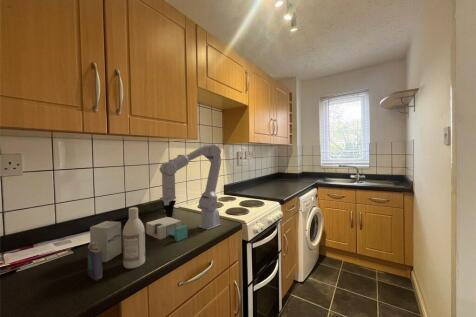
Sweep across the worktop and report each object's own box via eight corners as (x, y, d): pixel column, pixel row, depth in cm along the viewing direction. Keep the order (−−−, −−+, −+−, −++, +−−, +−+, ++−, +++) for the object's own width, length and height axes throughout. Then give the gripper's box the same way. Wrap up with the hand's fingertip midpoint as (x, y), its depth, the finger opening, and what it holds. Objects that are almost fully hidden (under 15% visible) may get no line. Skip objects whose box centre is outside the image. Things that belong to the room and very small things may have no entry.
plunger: (159, 231, 99) (159, 223, 99) (162, 232, 97) (162, 224, 97) (154, 232, 97) (153, 224, 97) (157, 234, 95) (157, 225, 95)
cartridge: (164, 228, 107) (163, 218, 107) (187, 237, 95) (187, 225, 95) (153, 231, 102) (153, 220, 102) (177, 241, 90) (177, 229, 90)
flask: (104, 278, 64) (103, 244, 64) (93, 282, 62) (91, 247, 62) (95, 267, 70) (94, 237, 70) (85, 271, 68) (84, 240, 68)
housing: (167, 226, 110) (167, 216, 110) (181, 231, 103) (181, 220, 103) (146, 233, 101) (146, 222, 100) (159, 239, 93) (159, 227, 93)
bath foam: (135, 257, 77) (134, 205, 77) (149, 260, 74) (148, 206, 74) (118, 267, 70) (117, 209, 70) (133, 271, 68) (132, 211, 68)
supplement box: (106, 262, 73) (106, 228, 73) (89, 260, 75) (88, 226, 75) (122, 253, 81) (121, 221, 80) (106, 251, 82) (105, 220, 82)
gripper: (162, 186, 101) (163, 213, 101) (156, 191, 87) (157, 222, 87) (177, 185, 102) (178, 212, 103) (173, 190, 88) (174, 221, 88)
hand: (169, 216), depth 95 cm, fingers closed
